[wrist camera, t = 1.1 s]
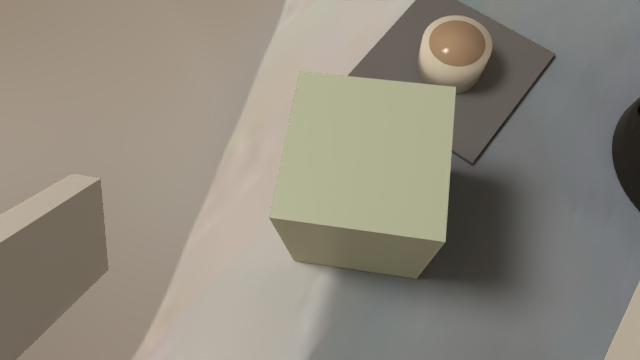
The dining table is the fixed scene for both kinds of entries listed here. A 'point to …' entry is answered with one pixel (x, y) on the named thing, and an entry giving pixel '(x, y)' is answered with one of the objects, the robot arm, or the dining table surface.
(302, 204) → the sage green cube
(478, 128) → the mat
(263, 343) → the dining table surface
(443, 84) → the bowl
